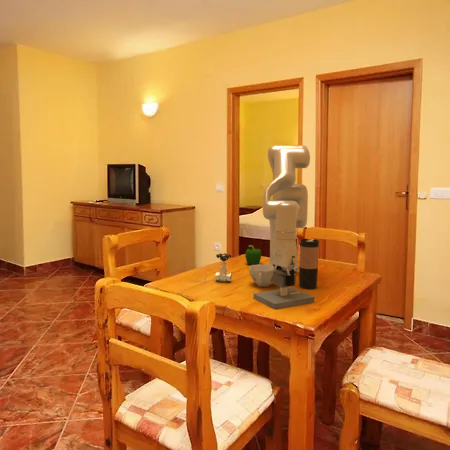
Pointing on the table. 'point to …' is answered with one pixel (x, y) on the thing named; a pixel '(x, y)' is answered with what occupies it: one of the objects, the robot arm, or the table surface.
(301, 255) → the travel mug
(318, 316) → the table surface
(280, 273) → the knob
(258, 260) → the bell pepper
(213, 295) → the table surface
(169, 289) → the table surface
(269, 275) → the teacup
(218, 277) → the valve
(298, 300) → the hub plate
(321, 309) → the table surface
